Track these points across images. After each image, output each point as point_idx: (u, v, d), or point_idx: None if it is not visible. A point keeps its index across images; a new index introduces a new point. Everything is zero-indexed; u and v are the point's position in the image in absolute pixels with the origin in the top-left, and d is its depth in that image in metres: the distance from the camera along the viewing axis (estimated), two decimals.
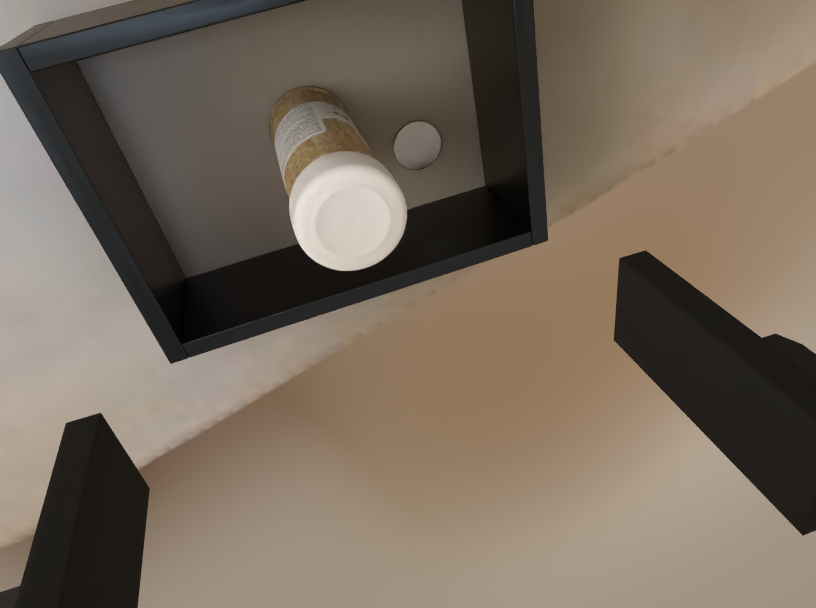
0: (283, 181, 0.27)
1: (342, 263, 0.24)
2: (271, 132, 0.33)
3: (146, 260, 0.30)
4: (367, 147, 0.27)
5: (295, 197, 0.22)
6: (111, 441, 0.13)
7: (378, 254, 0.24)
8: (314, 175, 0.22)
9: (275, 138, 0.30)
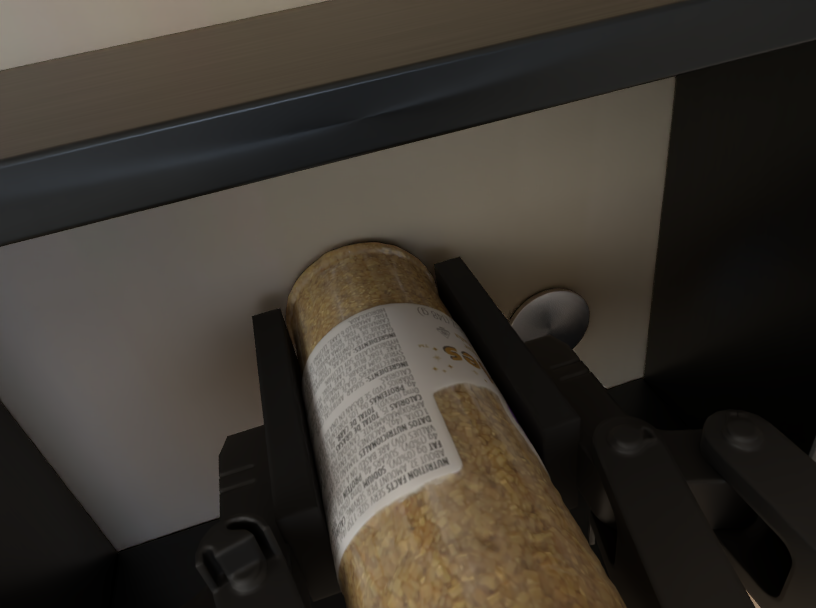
0: None
1: None
2: (289, 327, 0.16)
3: None
4: (549, 479, 0.11)
5: None
6: (287, 333, 0.16)
7: None
8: None
9: (304, 378, 0.14)
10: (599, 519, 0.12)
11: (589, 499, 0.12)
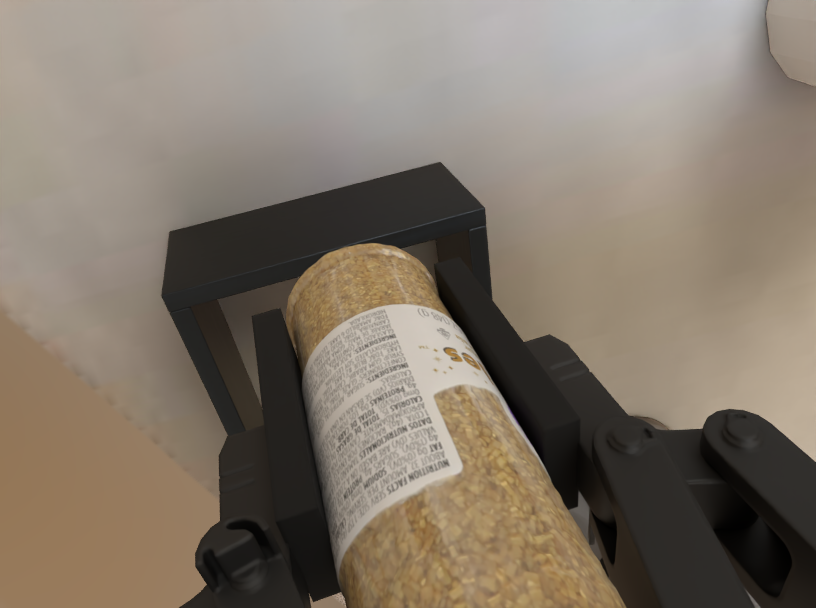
0: (332, 552, 0.11)
1: None
2: (290, 328, 0.16)
3: None
4: (549, 480, 0.11)
5: None
6: (287, 333, 0.16)
7: None
8: None
9: (304, 380, 0.14)
10: (599, 519, 0.12)
11: (589, 499, 0.12)
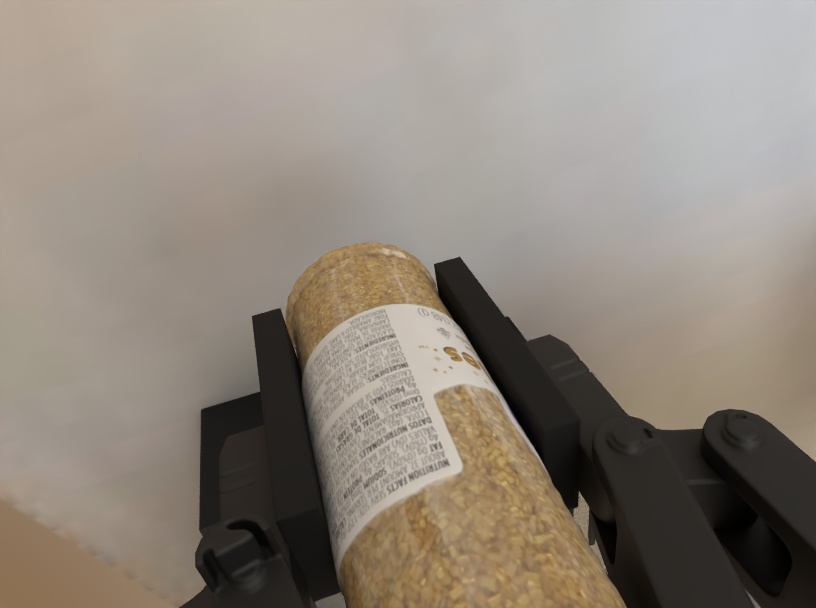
0: (332, 552, 0.11)
1: None
2: (289, 328, 0.16)
3: None
4: (549, 480, 0.11)
5: None
6: (287, 333, 0.16)
7: None
8: None
9: (304, 379, 0.14)
10: (600, 519, 0.12)
11: (589, 499, 0.12)
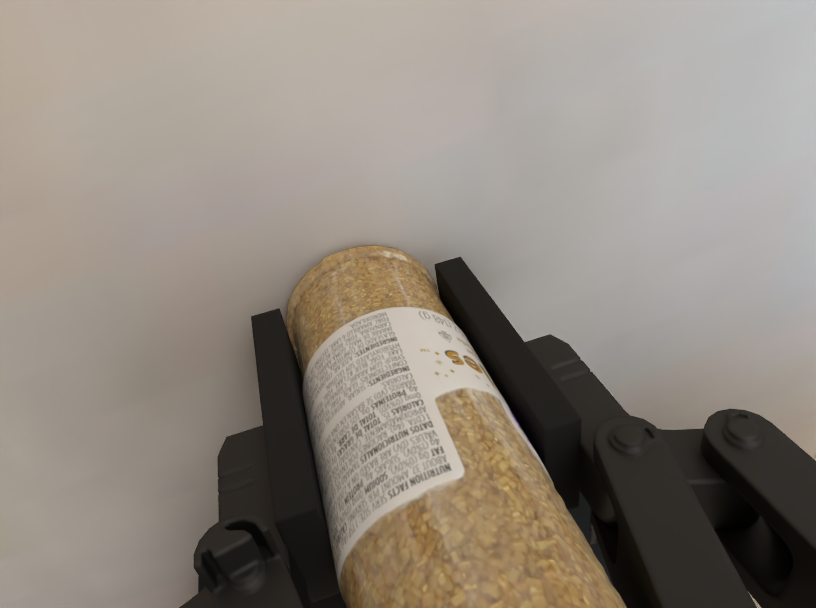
0: (333, 557, 0.11)
1: None
2: (290, 331, 0.16)
3: None
4: (552, 485, 0.10)
5: None
6: (287, 333, 0.16)
7: None
8: None
9: (305, 383, 0.14)
10: (601, 519, 0.12)
11: (590, 499, 0.12)
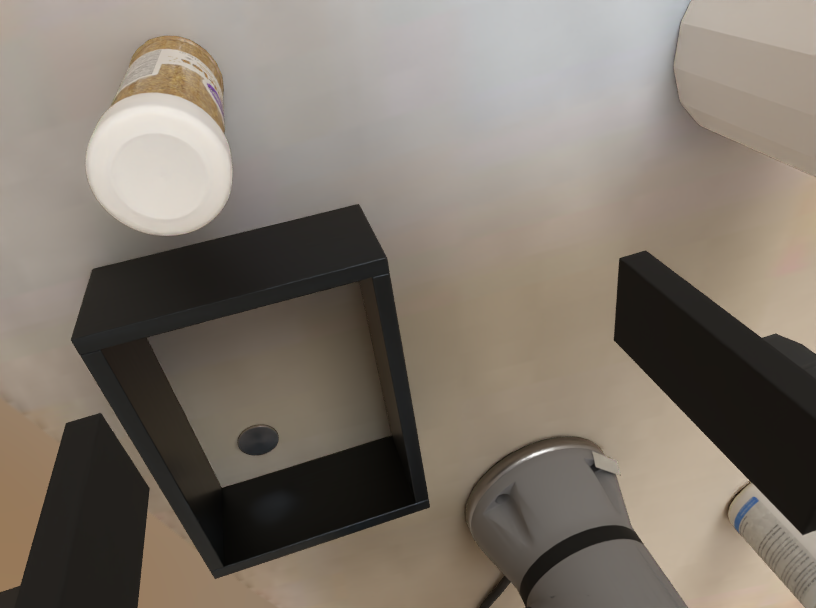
0: None
1: (152, 225, 0.20)
2: None
3: None
4: (210, 99, 0.23)
5: None
6: (111, 441, 0.13)
7: (198, 218, 0.20)
8: (109, 115, 0.18)
9: None
10: None
11: None
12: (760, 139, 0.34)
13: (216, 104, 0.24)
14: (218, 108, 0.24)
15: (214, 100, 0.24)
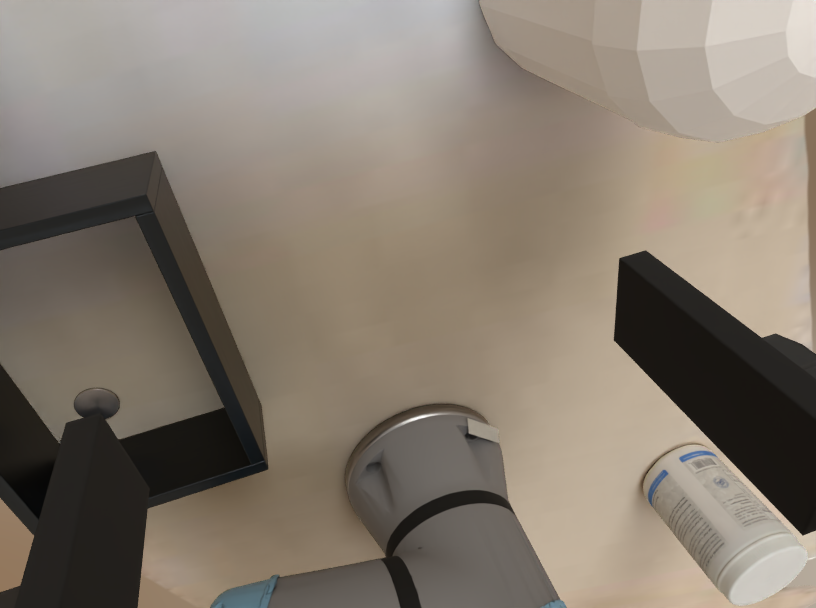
0: None
1: None
2: None
3: None
4: None
5: None
6: (111, 441, 0.13)
7: None
8: None
9: None
10: None
11: None
12: (549, 70, 0.33)
13: None
14: None
15: None
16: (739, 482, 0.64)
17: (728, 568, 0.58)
